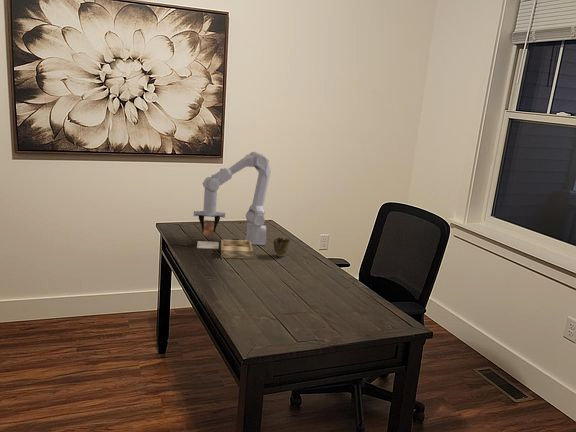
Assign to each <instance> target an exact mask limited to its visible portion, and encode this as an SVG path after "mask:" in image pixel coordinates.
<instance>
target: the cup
mask: <svg viewBox="0 0 576 432" xmlns="http://www.w3.org/2000/svg"><path fill="white" fill-rule="evenodd" d="M289 246H290V238H289V239H288V238H285V239H284V238H283V237H275V238H273V250H274V252H275V253H276V256H277V257H278V258H284V257H285V254H286V253H287V252H288V250H289Z"/></svg>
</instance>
